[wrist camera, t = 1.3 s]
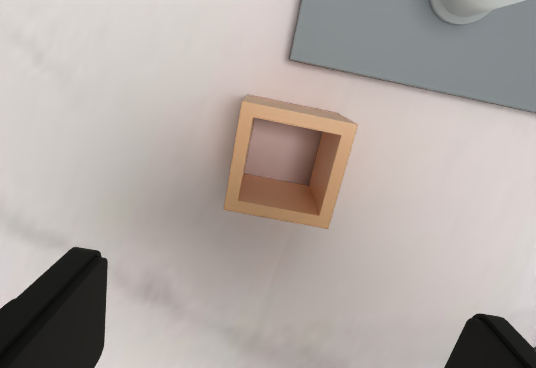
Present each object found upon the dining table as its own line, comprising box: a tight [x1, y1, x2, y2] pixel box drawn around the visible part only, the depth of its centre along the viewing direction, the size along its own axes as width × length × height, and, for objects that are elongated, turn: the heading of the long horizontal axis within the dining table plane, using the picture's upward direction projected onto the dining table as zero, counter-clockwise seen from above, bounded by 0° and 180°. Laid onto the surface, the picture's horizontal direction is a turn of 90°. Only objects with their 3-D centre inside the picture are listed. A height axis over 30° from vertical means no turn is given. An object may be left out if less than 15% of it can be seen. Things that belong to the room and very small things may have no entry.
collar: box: [224, 95, 358, 229], centre depth 23 cm, size 7×7×6 cm
